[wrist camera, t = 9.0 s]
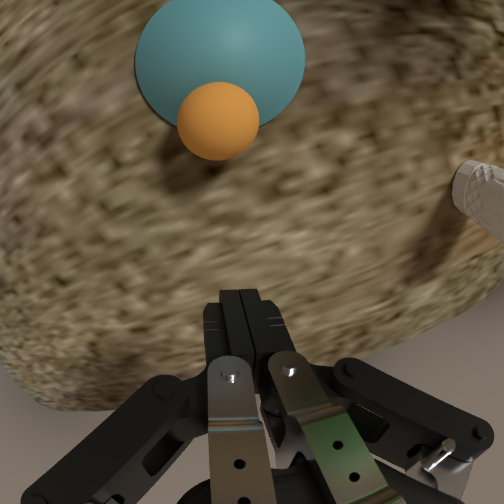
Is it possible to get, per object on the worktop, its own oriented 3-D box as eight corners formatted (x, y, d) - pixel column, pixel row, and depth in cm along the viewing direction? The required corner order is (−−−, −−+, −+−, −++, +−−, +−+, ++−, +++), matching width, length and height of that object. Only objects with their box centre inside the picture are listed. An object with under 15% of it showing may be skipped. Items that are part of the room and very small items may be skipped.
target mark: (119, 122, 19) (119, 123, 19) (162, -24, 14) (162, -25, 14) (281, 151, 23) (281, 151, 23) (319, 12, 17) (320, 12, 17)
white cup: (448, 224, 30) (506, 264, 21) (445, 164, 26) (514, 195, 17) (484, 202, 30) (537, 235, 21) (482, 147, 26) (544, 172, 17)
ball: (163, 83, 15) (183, 93, 20) (173, 170, 17) (190, 160, 22) (256, 71, 15) (254, 84, 20) (264, 160, 17) (260, 153, 22)
